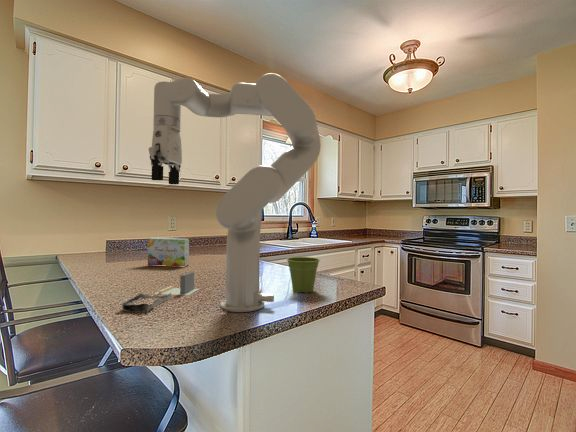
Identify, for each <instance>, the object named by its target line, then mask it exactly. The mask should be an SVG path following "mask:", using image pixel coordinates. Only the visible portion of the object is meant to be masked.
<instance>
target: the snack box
mask: <svg viewBox="0 0 576 432" xmlns="http://www.w3.org/2000/svg"><path fill="white" fill-rule="evenodd" d="M189 259H190V239H189V238H180V237H179V238H178V237H177V238H176V237H148V238H147V266H148V265H166V266H186V265H189V264H190V263H189V262H190V261H189Z"/></svg>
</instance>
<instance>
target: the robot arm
mask: <svg viewBox="0 0 576 432" xmlns="http://www.w3.org/2000/svg"><path fill="white" fill-rule="evenodd" d="M181 106H182V107H185V108H187V109H188V110H189V111H190V112H191V113H193V114H194V115H197V116H200V117H206V118H207V117H208V118H226V117H228V118H229V117H231V116H234V115H252V116H254V115H255V116H261V117H262V116H263V117H266V116H267V117H274V119H276V121H277V122H278V123H279V124H280V126H282V128H283V129H284V130H285V132H286V134H287V135H288V138H289V139H290V141H291V145H290V147H289V148H288V149H287V150H286V151H284V152H283V153H281V155H279V157H278V158H277V159H276V160H275V161H274V162H273V163H272V164H271V165H268V164H267V165H266V164H262V165H257V166H255V167H253V168H252V169H250V170H249V171H247V172H246V173H245V174H244V175H243V176H242V177H241V178H240V179H239V180H238V181H237V182H236V183H235V184H234V185H233V186H232V187H231V188H230V189H229V190H228V191H227V192H226V193H225V194H224V195H223V196H222V197H221V198H220V200H219V201H218V202H217V205H216V208H215V217H216V220H217V222H218V223H219V225H220V226H221V227H222V228H224V229H227V234H226V245H225V246H226V252H225V254H226V255H225V258H226V261H225V266H226V267H225V299H223V300H221V301H220V304H219V307H220V308H222V309H223V310H226V311H227V312H230V313H248V312H253V311H254V312H255V311H257V310H258V311H259V310H261V309H262V308H264V307H265V302H268V303H274V301H275V295H273V294H272V293H264V292H262V291H263V289H262V288H260V248H261V246H260V245H261V230H262V228H261V227H262V210H263V209H264V208H265V207H266V206H267V205H268V204H272V203H273V204H274V203H276V202H278V201H280V200H281V199H282V198H283V197H284V195H285V194H286V193H287V192H289V190H291V188H293V187H294V185H295V184H296V183H297V182H298V181H300V180H301V178H302V177H303V176H304V175H305V174H306V173H307V172H308V171H309V170H310V169H311V168H312V167H313V166H314V164H316V162H317V160H318V158H319V156H320V153H321V145H322V144H321V139H320V134H319V129H318V123H317V117H316V114H315V112H314V111H313V108H311V106H310V105H309V104H308V103H307V102H306V101H305V100H304V99H303V97H301V95H300V94H299V93H298V92H297V91H296V90H295V89H294V88H293V87H292V85H290V83H289V82H288V81H287V80H286V79H285V78H284V77H283V76H281V75H279V74H277V73H274V72H273V73H272V72H270V73H265V74H262V75H261V76H260V77H259V78H258V79H257V81H256V83H251V82H250V83H247V82H236V83H234V84H232V86H231V89H230V91H229V92H227V93H208V92H206V90H204V89H203V88H202V86H201V85H199V83H198V82H197V81H195V80H194V79H193V78H189V77H183V78H179V79H176V80H173V81H164V80H163V81H159V82H156V84H155V85H154V89H153V124H152V125H153V131H152V137H151V138H152V139H151V146H150V147H148V153H149V159H150V165H151V180H152V181H163V180H164V166H163V164H164V165H167V166H168V169H169V171H168V184H169V185H179V184H180V171H181V167H182V163H183V162H182V161H183V160H182V159H183V157H182V155H183V153H182V152H183V151H182V139H181V113H182V112H181V109H182V108H181Z"/></svg>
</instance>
